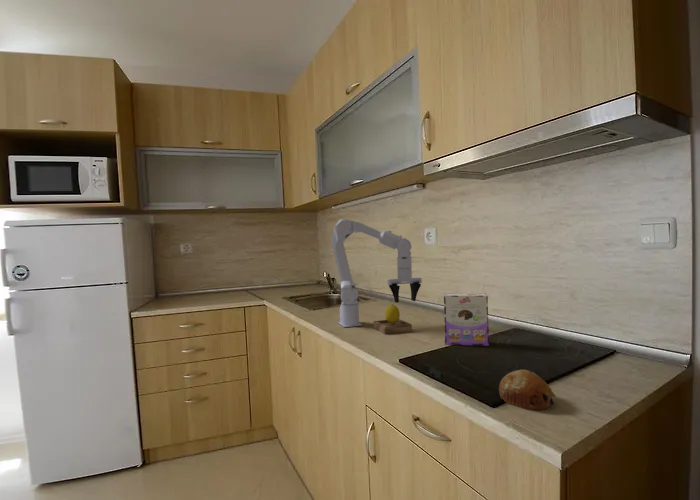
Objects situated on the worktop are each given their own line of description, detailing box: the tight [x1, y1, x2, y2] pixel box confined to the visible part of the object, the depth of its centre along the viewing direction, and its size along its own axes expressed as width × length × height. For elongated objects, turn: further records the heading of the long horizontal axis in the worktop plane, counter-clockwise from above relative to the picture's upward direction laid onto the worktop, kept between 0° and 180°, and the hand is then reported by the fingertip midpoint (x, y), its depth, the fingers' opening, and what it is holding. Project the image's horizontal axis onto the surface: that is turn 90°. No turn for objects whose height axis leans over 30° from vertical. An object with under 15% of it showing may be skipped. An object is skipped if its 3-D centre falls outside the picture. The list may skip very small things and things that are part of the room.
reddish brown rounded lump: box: [498, 369, 557, 411], centre depth 76 cm, size 10×10×8 cm
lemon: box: [384, 304, 401, 325], centre depth 140 cm, size 6×6×8 cm
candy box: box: [443, 292, 490, 347], centre depth 119 cm, size 14×6×16 cm, turn 74°
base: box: [373, 318, 413, 335], centre depth 140 cm, size 11×11×3 cm
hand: (405, 301), depth 146 cm, fingers open, 7 cm apart
